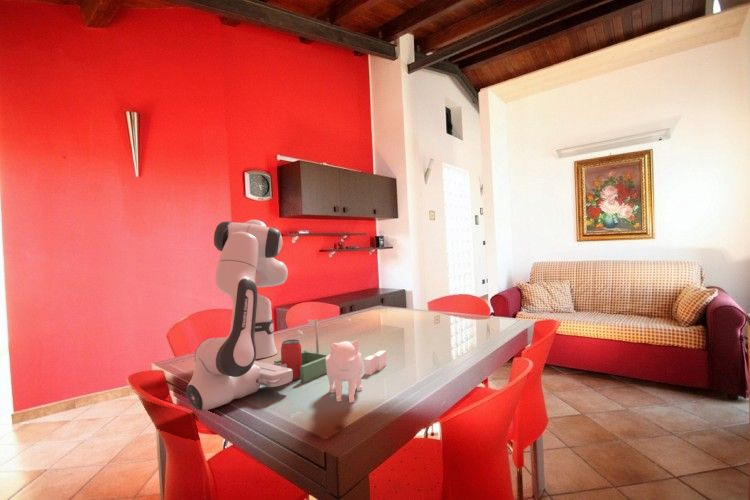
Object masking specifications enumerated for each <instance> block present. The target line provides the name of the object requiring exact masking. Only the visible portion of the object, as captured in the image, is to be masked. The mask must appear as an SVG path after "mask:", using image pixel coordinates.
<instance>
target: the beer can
mask: <svg viewBox="0 0 750 500" xmlns="http://www.w3.org/2000/svg"><path fill="white" fill-rule="evenodd" d="M301 352H302V345H301V343H300V340H299V339H287V340H283V341H282V342H281V347H280V359H281V363H285V364H287V368H291V369H292V372H293V379H292V381H296V380H300V379H301V377H300V366H302V353H301Z"/></svg>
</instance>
